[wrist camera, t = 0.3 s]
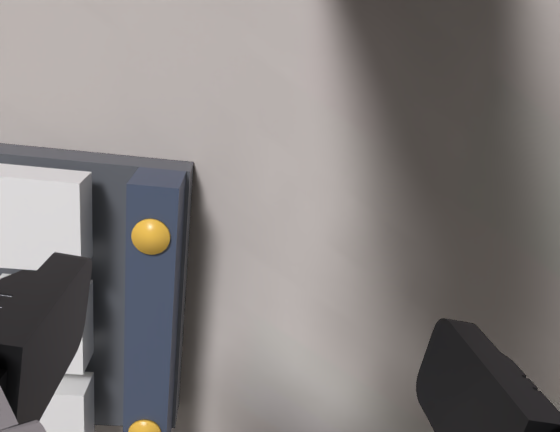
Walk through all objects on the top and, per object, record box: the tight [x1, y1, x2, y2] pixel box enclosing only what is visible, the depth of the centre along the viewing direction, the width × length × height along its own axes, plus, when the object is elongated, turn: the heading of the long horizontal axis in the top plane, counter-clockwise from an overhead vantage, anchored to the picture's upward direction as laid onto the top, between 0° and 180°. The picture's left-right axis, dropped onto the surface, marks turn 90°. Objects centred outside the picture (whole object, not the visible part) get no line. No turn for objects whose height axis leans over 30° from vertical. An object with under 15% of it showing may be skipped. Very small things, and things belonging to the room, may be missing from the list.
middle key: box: [0, 273, 94, 375], centre depth 26 cm, size 5×5×2 cm
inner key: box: [0, 163, 93, 270], centre depth 24 cm, size 5×5×2 cm
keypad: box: [0, 143, 193, 432], centre depth 28 cm, size 17×12×5 cm
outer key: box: [39, 372, 95, 432], centre depth 28 cm, size 5×5×2 cm
